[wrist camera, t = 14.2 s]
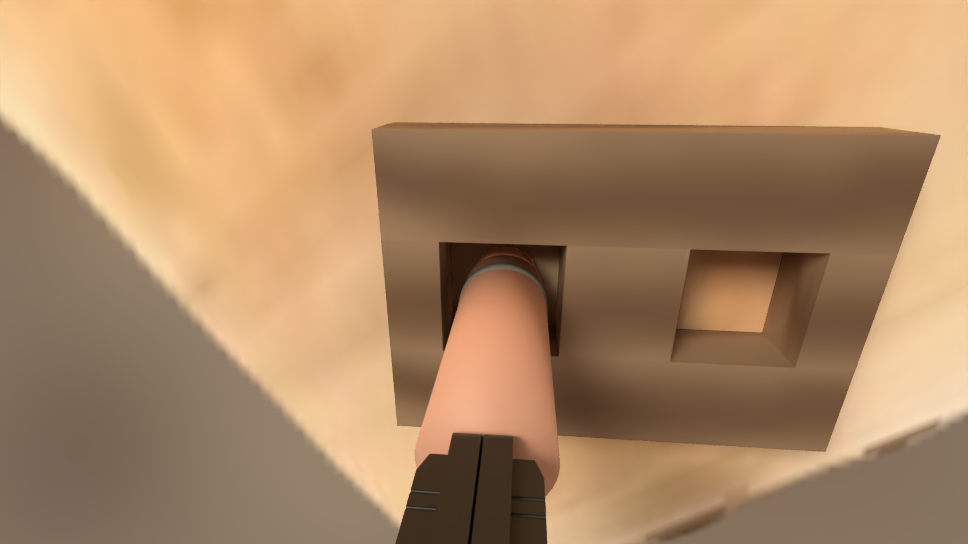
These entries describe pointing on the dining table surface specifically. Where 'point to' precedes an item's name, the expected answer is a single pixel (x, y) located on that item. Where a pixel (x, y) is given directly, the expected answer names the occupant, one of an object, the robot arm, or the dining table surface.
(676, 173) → the board
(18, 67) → the dining table surface
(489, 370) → the peg
